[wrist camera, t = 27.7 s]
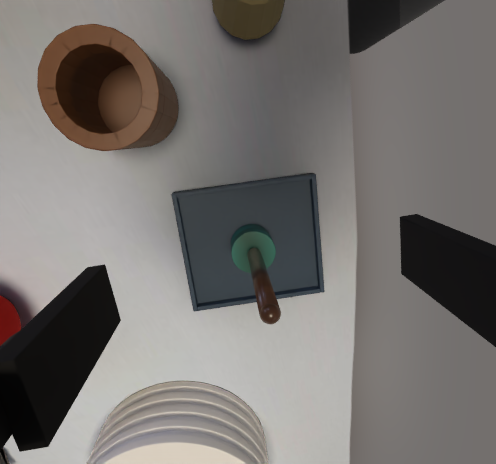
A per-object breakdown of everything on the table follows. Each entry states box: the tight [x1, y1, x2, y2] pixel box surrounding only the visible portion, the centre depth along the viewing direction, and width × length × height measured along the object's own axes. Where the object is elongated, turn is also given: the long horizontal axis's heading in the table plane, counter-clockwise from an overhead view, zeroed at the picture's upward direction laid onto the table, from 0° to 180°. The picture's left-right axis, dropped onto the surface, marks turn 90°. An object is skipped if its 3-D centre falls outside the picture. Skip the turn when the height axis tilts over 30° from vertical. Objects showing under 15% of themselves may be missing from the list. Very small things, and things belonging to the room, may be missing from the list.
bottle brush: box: [231, 224, 281, 324], centre depth 38 cm, size 6×6×21 cm
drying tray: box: [172, 173, 324, 311], centre depth 48 cm, size 19×17×2 cm
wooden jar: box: [37, 24, 178, 151], centre depth 36 cm, size 10×10×14 cm
